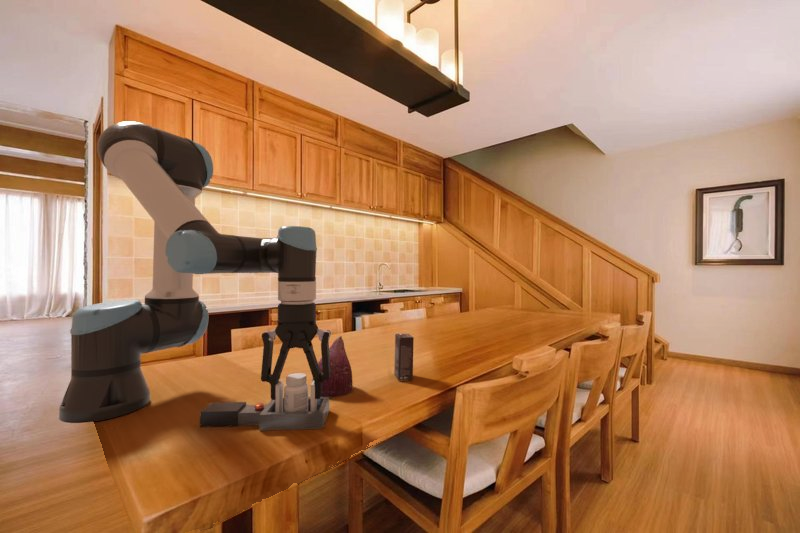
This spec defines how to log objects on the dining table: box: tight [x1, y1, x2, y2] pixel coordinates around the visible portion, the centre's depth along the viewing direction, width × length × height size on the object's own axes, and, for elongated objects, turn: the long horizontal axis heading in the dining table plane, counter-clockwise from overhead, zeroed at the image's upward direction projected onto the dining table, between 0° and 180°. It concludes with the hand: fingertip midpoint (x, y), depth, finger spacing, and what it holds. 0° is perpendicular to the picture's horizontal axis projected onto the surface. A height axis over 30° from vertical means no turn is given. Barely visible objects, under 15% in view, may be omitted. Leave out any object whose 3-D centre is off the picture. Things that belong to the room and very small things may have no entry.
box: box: [393, 333, 414, 382], centre depth 97 cm, size 6×4×12 cm
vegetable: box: [311, 335, 354, 398], centre depth 89 cm, size 10×10×15 cm
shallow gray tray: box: [199, 396, 330, 431], centre depth 70 cm, size 24×8×3 cm, turn 94°
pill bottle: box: [283, 372, 309, 412], centre depth 70 cm, size 5×5×8 cm
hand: (296, 414), depth 70 cm, fingers open, 6 cm apart
